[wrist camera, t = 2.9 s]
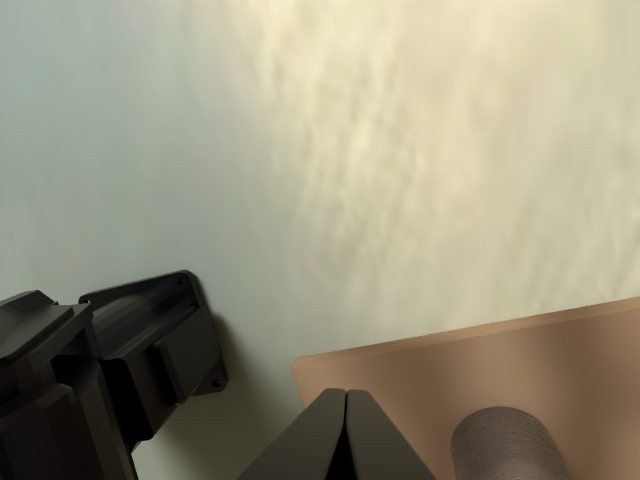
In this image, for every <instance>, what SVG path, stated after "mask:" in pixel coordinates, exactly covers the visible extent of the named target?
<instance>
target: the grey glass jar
mask: <svg viewBox="0 0 640 480" xmlns="http://www.w3.org/2000/svg"><path fill="white" fill-rule="evenodd" d="M450 449H451V456H452V461H453V466H454V471H455V476H456V480H575V478H574V476H573V475H572V473H571V471H570V469H569V467H568V466H567V464H566V462H565V460H564V458H563V457H562V455H561V453H560V451H559V449H558V448H557V446H556V444H555V442H554V440H553V438H552V437H551V435H550V433H549V431H548V430H547V428H546V427H545V426H544V425H543V424H542V423H541V422H540V421H539V420H538V419H537V418H535V417H534V416H533V415H531V414H529V413H527V412H525V411H522V410H520V409H516V408H512V407H505V406H496V407H488V408H484V409H481V410H478V411H476V412H474V413H472V414H470V415H468V416H467V417H466V418H465V419H463V420H462V421H461V422H460V423H459V425H458V426H457V427H456V429H455V431H454V433H453V435H452V439H451V445H450Z"/></svg>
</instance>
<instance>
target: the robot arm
mask: <svg viewBox="0 0 640 480" xmlns="http://www.w3.org/2000/svg"><path fill="white" fill-rule="evenodd" d="M181 277H183V278H185V280H186V284H183V283H182V282H181V279H180V278H181ZM88 300H89V301H90V302H91V304H92V306H91V305H90V303H88ZM78 303H79V304H76V305H59V304H58V301H56V302H54V301H53V300H52V299H50V298H49V297H47V296H46V295H45V294H43V293H42V292H41V291H39V290H34V291H27V292H23V293H20V294H18V295H15V296H13V297H10V298H8V299H5V300H3V301H0V480H139V479H138V476H137V472H136V469H135V466H134V462H133V459H132V455H131V453H132V452H133V451H134V450H135V449H136V447H137V446H138V445H139V444H140V443H141V441H146V440H150V439H152V438H153V437H154V435H155V434H156V433H157V432H158V430H159V429H160V428H161V427H162V426H163V424H164V423H165V422H166V421H167V419H168V418H169V417H170V416H171V415H172V413H173V412H174V411H175V410H176V408H177V407H178V406H179V405H181V404H184V403H185V402H186V400H187V399H188V398H189V397H191V396H197V395H203V394H208V393H214V392H220V391H222V390H223V389H224V388H225V387H226V385H227V384H228V381H229V380H228V375H227V372H226V369H225V366H224V363H223V360H222V358H221V356H222V350H221V348H220V345H219V342H218V339H217V336H216V333H215V330H214V327H213V324H212V321H211V318H210V315H209V312H208V310H207V309H206V308H205V307H204V305H203V302H202V299H201V296H200V293H199V290H198V287H197V284H196V281H195V278H194V276H193V274H192V273H191V272H190V271H187V270H180V271H176V272H171V273H167V274H163V275H159V276H155V277H151V278H147V279H143V280H138V281H134V282H130V283H126V284H122V285H118V286H114V287H110V288H105V289H101V290H97V291H93V292H89V293H87V294H85V295H83V296H81V297H80V298H79V301H78ZM215 378H217V379H219V380H220V381H221V383H218V382H216V380H215ZM237 480H438V479H437V478H436V476H435V475H434V474H433V473H432V471H431V470H430V469H429V467H428V466H427V465H426V464H425V462H424V461H423V460H422V458H421V457H420V456H419V455H418V453H417V452H416V451H415V449H414V448H413V447H412V446H411V444H410V443H409V442H408V440H407V439H406V438H405V437H404V435H403V434H402V433H401V431H400V430H399V429H398V428H397V426H396V425H395V424H394V423H393V421H392V420H391V419H390V417H389V416H388V415H387V414H386V412H385V411H384V410H383V408H382V407H381V406H380V405H379V403H378V402H377V401H376V399H375V398H374V397H373V396H372V394H371V393H370V392H369V391H368V390H364V389H349V390H348V391H347V392H346V390H345V389H343V388H326V389H324V390H323V391H322V392H321V393H320V394H319V395H318V396H317V397H316V398H315V399H314V400H313V401H312V403H311V404H310V405H309V406H308V407H307V408H306V409H305V410H304V411H303V412H302V413H301V414H300V415H299V416H298V417H297V418H296V419H295V420H294V421H293V422H292V423H291V424H290V425H289V426H288V427H287V428H286V429H285V430H284V431H283V432H282V433H281V434H280V435H279V436H278V438H277V439H276V440H275V441H274V442H273V443H272V444H271V445H270V446H269V447H268V448H267V449H266V450H265V451H264V452H263V453H262V454H261V455H260V456H259V457H258V458H257V459H256V460H255V461H254V462H253V463H252V464H251V465H250V466H249V467H248V468H247V469H246V470H245V471H244V472H243V474H242V475H241V476H240V477H239V478H238V479H237Z"/></svg>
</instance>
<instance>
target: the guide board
mask: <svg viewBox="0 0 640 480" xmlns="http://www.w3.org/2000/svg"><path fill="white" fill-rule="evenodd" d="M292 372H293V375H294V379H295V382H296V385H297V388H298V392H299V395H300V398H301V401H302V404H303V408H304V410H305V409H306V408H307V407H308V406H309V405H310V404H311V403H312V401H313V400H314V399H315V398H316V397H317V396H318V395H319V394H320V393H321V392H322V391H323V390H324V389H326V388H343V389H345V390H346V392H347V391H348V390H349V389H364V390H368V391H369V392H370V393H371V394H372V396H373V397H374V398H375V399H376V401H377V402H378V403H379V405H380V406H381V407H382V408H383V410H384V411H385V412H386V414H387V415H388V416H389V417H390V419H391V420H392V421H393V423H394V424H395V425H396V426H397V428H398V429H399V430H400V431H401V433H402V434H403V435H404V437H405V438H406V439H407V440H408V442H409V443H410V444H411V446H412V447H413V448H414V449H415V451H416V452H417V453H418V455H419V456H420V457H421V458H422V460H423V461H424V462H425V464H426V465H427V466H428V467H429V469H430V470H431V471H432V473H433V474H434V475H435V476H436V478H437V479H438V480H456V476H455V471H454V466H453V461H452V456H451V449H450V445H451V439H452V435H453V433H454V431H455V429H456V427H457V426H458V425H459V423H460V422H461V421H462V420H463V419H465V418H466V417H467V416H468V415H470V414H472V413H474V412H476V411H478V410H481V409H484V408H488V407H496V406H505V407H512V408H516V409H520V410H522V411H525V412H527V413H529V414H531V415H533V416H534V417H535V418H537V419H538V420H539V421H540V422H541V423H542V424H543V425H544V426H545V427H546V428H547V430H548V431H549V433H550V435H551V437H552V438H553V440H554V442H555V444H556V446H557V448H558V449H559V451H560V453H561V455H562V457H563V458H564V460H565V462H566V464H567V466H568V467H569V469H570V471H571V473H572V475H573V476H574V478H575V480H640V297H636V298H631V299H625V300H619V301H614V302H608V303H603V304H597V305H592V306H586V307H580V308H575V309H569V310H564V311H558V312H553V313H547V314H541V315H536V316H530V317H525V318H519V319H514V320H508V321H502V322H497V323H491V324H486V325H480V326H475V327H469V328H464V329H458V330H452V331H447V332H441V333H436V334H430V335H425V336H419V337H413V338H408V339H402V340H397V341H391V342H386V343H380V344H374V345H369V346H363V347H358V348H352V349H347V350H341V351H335V352H330V353H324V354H319V355H313V356H308V357H302V358H296V360H295V362H294V364H293V367H292Z"/></svg>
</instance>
